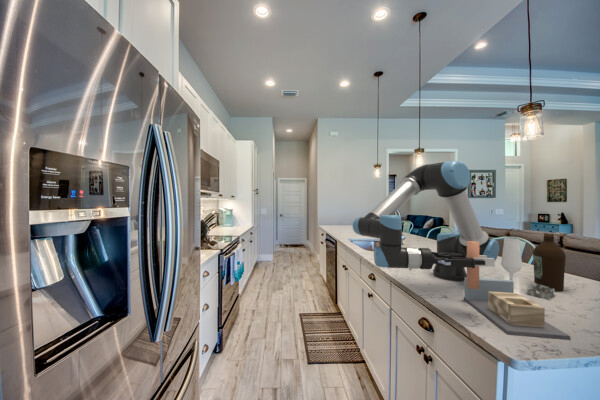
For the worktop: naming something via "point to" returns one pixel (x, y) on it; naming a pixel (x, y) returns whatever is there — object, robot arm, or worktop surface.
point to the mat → (545, 331)
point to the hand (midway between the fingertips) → (489, 260)
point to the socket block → (516, 309)
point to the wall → (487, 288)
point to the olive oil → (549, 264)
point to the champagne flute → (511, 256)
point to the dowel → (471, 272)
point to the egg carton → (540, 291)
